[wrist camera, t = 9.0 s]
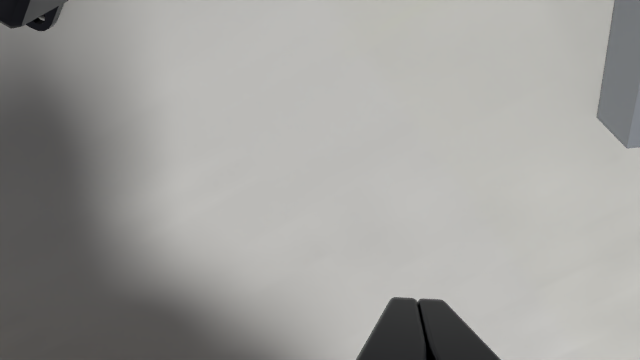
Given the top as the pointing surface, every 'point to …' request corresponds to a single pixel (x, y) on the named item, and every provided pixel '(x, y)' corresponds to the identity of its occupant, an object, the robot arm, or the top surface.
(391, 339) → the robot arm
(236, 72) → the top surface
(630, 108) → the breaker panel
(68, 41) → the top surface
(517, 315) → the top surface
